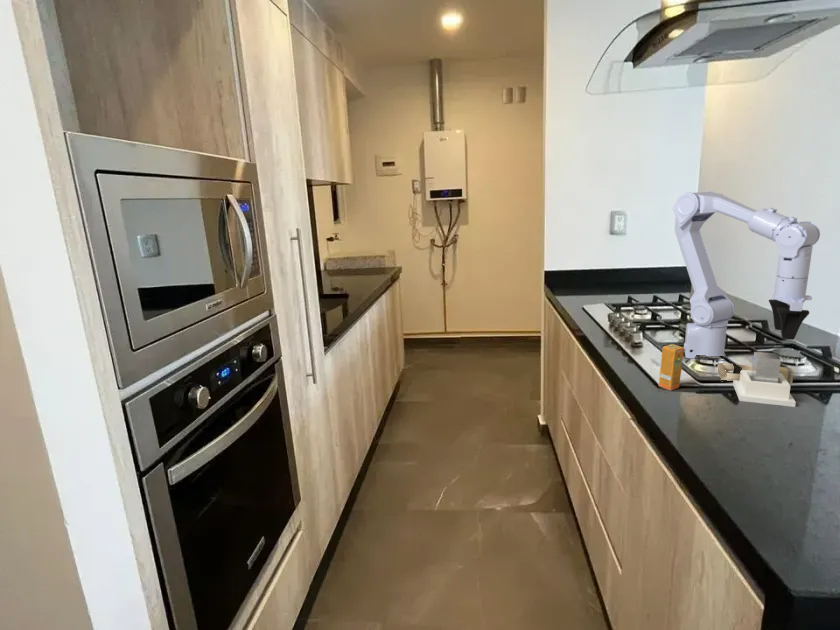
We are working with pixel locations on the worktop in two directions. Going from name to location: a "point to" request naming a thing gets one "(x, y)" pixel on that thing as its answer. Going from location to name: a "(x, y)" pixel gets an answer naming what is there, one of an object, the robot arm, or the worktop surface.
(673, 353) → the supplement box
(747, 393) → the white square socket
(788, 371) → the tan rectangular block
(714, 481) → the worktop surface
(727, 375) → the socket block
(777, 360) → the steel peg
